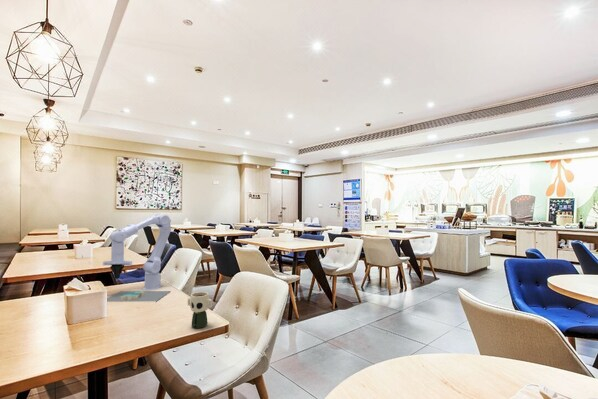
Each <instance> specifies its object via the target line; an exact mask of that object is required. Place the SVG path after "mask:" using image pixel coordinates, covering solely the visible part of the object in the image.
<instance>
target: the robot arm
mask: <svg viewBox="0 0 598 399" xmlns="http://www.w3.org/2000/svg"><path fill="white" fill-rule="evenodd" d="M171 222H172V220H171V218H170V216H169V215H167V214H160V213H159V214H158V213H157V214H154V215H152V216H149V217H148V218H146V219H144V220H142V221H141V222H139V223H137V224H133V223H131V224H129V223H128V224H127V226H125V227H123V228H119V229H118V230H115V231H113V232H111V234H110V236H109V240H110V241H111V250H110V251H111V258H110V259H111V260H107V261H106V260H105V261H102V266H109V268H110V270H111V271H112V274H113V276H114V279H115V280H118V279H120V278H121V274H122V271H123V270H124V267H125V266H132V265H133V261H132V260H125V259H124V254H125V247H124V246H125V243H124V242H125V240H126V239H128V238H130V237H132V236H134V235H136V234H137V233H138V232H139V230H141V229H144V228H146V227H149V226H150V225H155V226H156V227H158V229H159V230H160V232H159V234H158V237H157V239H156V242H155V244H154V246H153V249H152V251H151V253H150V254H151V255H150V256H149V257H148V258H147V260H146V261H145V262H144V263H143V264H142V265H143V266H142V269H143V271H144V287H143V288H141V291H157V289H159V288H161V287H162V286H163V285H162V284H161V282H162V281H161V279H162V277H161V273H160V270H161V264H162V259H161V258H162V254H163V253H164V249H165V247H166V244H167V242H168V239H169V236H170V234H171V230H172V227H171Z"/></svg>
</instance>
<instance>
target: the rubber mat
mask: <svg viewBox="0 0 598 399" xmlns="http://www.w3.org/2000/svg"><path fill="white" fill-rule="evenodd" d="M131 291H132V290H125V291H124V290H120V291H118V292H116V293H115V294H112V295H110V296H109V297H106V298H107V302H109V303H112V302H122V303H123V302H126V303H127V302H129V303H130V302H155V303H157V302H159V301H160V300H162V299H163V298H164V297H166V296H167V295H169V294H170V293H171V291H170V290H143V291H144V295H143V296H141V297H139V298H138V299H136V300H121V296H123V295H125V294H127V293H129V292H131ZM161 298H162V299H161Z"/></svg>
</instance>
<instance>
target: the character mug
mask: <svg viewBox="0 0 598 399" xmlns="http://www.w3.org/2000/svg"><path fill="white" fill-rule="evenodd" d="M187 306H189V307H190V311H192V319H191V327H192V328H197V329H198V328H204V327H206V326H207V325H208V323H209V321H208V316H207V311H208V310H209V308H212V307H213V300H212V299H211V298H210V294H209V292H208V291H196V292H193V293H191V294H190V297H188V298H187ZM195 326H196V327H195Z"/></svg>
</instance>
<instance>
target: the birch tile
mask: <svg viewBox="0 0 598 399" xmlns="http://www.w3.org/2000/svg"><path fill="white" fill-rule="evenodd" d="M130 291H131V292H129V293H127V294H125V295H123V296H121V300H136V299H138V298H139V297H141V296H143V295H144V291H145V290H130Z"/></svg>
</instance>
